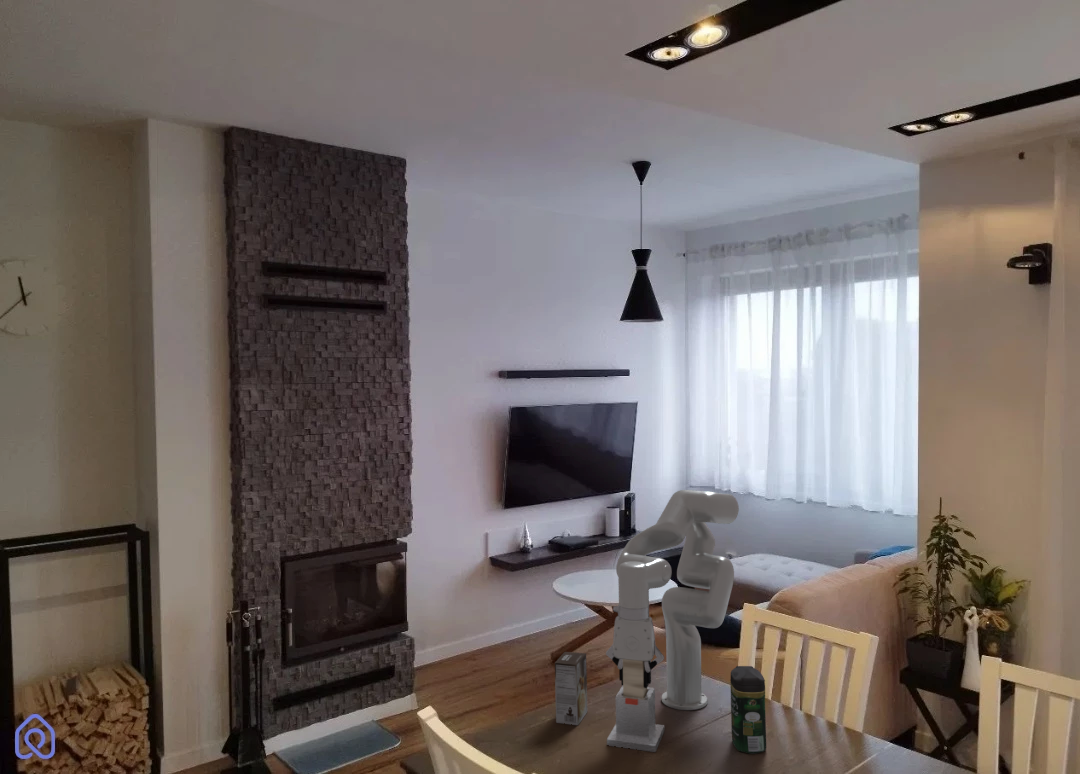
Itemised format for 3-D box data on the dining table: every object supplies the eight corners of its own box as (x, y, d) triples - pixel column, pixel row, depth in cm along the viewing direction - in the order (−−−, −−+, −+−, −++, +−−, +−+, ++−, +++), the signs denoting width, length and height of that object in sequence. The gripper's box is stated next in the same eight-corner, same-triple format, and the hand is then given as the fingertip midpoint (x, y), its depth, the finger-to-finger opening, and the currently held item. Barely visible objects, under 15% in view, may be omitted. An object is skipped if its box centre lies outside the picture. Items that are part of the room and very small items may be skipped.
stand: (618, 725, 202) (617, 681, 202) (664, 731, 198) (663, 686, 198) (606, 745, 191) (606, 698, 191) (655, 752, 187) (654, 704, 187)
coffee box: (565, 709, 213) (564, 650, 213) (588, 712, 211) (587, 652, 211) (555, 723, 204) (554, 662, 204) (578, 726, 202) (577, 664, 202)
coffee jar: (728, 736, 194) (727, 662, 194) (760, 737, 194) (759, 662, 194) (735, 755, 185) (734, 677, 185) (769, 755, 184) (768, 677, 184)
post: (628, 726, 198) (627, 647, 198) (647, 728, 196) (646, 649, 196) (624, 734, 193) (622, 654, 193) (643, 737, 191) (642, 656, 191)
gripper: (597, 613, 194) (598, 686, 194) (665, 619, 188) (666, 694, 188) (604, 605, 201) (606, 675, 201) (670, 610, 195) (671, 683, 195)
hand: (635, 684), depth 195 cm, fingers closed on post, 5 cm apart
